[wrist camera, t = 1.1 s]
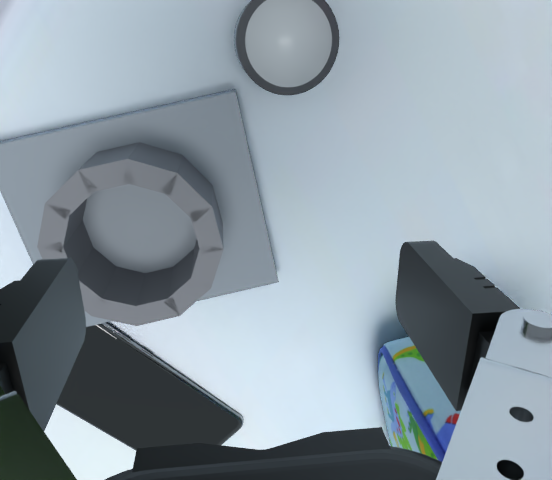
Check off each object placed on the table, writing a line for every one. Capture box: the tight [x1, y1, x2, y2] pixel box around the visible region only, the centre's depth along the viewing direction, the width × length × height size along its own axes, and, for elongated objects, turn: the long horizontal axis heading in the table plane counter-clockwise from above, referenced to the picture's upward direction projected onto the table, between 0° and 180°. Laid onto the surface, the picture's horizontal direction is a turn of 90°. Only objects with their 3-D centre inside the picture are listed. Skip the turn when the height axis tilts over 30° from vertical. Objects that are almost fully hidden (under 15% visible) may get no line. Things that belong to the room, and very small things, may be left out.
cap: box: [234, 0, 339, 95], centre depth 26 cm, size 5×5×4 cm
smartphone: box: [56, 322, 243, 451], centre depth 35 cm, size 7×1×16 cm
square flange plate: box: [0, 89, 279, 327], centre depth 28 cm, size 14×12×6 cm
